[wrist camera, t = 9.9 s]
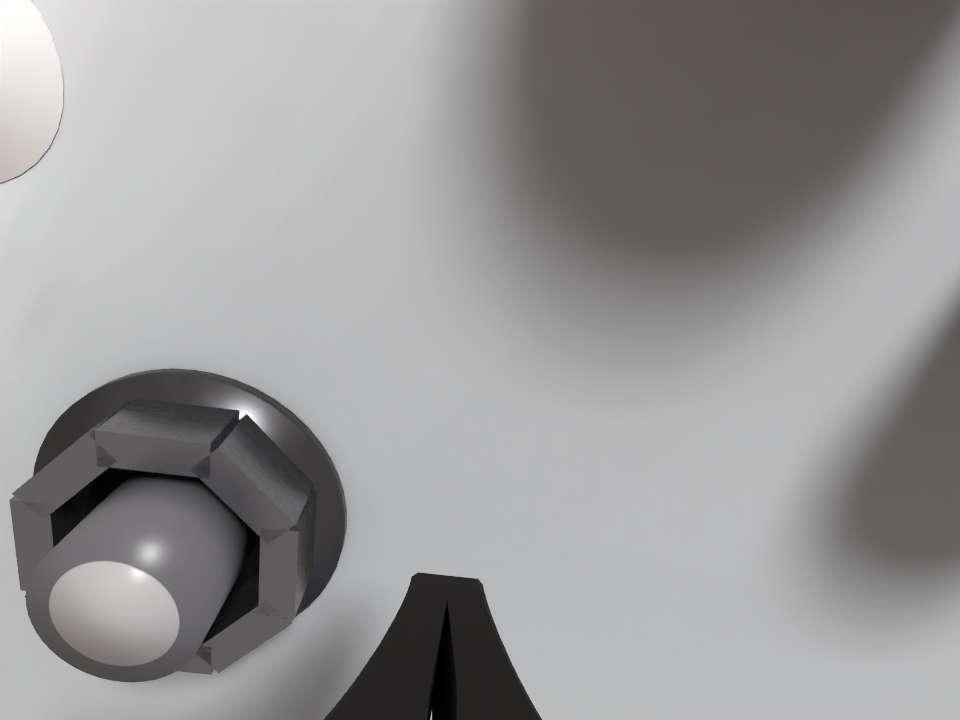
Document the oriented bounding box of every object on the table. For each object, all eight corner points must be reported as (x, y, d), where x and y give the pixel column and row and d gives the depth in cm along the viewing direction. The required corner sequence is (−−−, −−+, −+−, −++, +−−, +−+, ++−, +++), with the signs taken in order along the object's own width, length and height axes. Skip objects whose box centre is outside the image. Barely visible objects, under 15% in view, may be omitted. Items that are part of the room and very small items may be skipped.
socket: (337, 644, 25) (320, 708, 23) (54, 615, 25) (0, 677, 22) (356, 389, 22) (339, 426, 19) (27, 349, 21) (-42, 382, 19)
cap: (260, 579, 24) (205, 692, 19) (124, 566, 24) (33, 676, 19) (262, 460, 22) (202, 550, 17) (115, 445, 22) (13, 531, 17)
